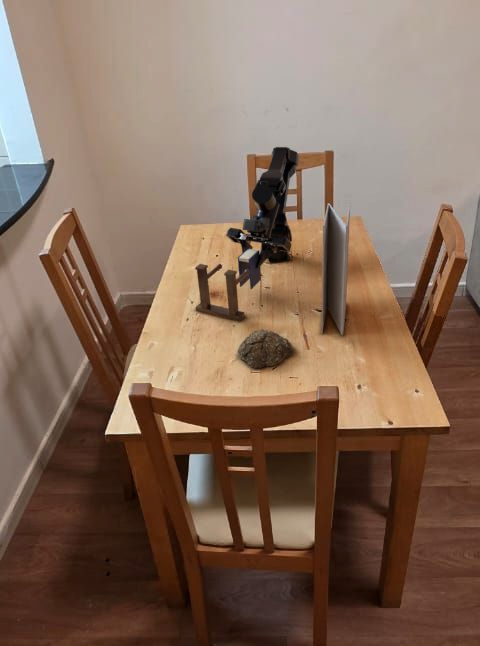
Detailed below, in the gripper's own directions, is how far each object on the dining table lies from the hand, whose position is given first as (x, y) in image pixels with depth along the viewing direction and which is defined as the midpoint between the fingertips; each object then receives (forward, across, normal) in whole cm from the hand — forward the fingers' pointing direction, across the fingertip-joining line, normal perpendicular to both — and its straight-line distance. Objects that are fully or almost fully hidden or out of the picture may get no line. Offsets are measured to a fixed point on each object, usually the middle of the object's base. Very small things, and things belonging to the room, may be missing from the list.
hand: (250, 267), depth 159 cm
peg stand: (+13, -3, -1) cm, 13 cm away
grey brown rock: (+24, +16, -12) cm, 32 cm away
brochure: (+9, +27, +3) cm, 29 cm away
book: (+4, 0, +3) cm, 5 cm away
